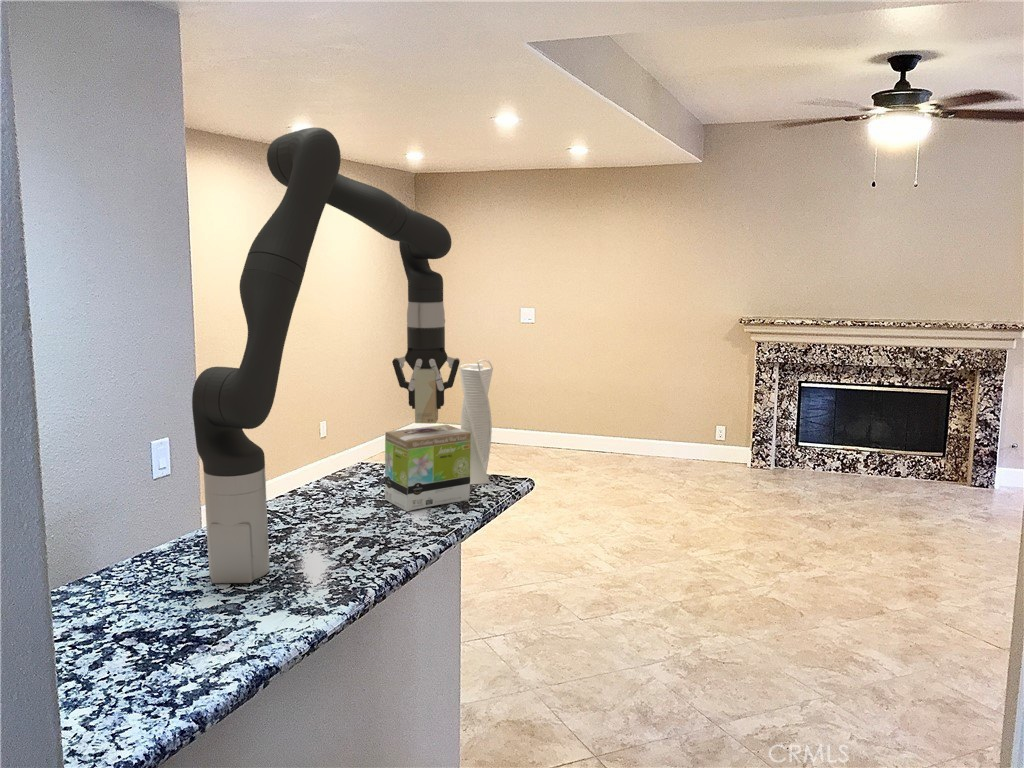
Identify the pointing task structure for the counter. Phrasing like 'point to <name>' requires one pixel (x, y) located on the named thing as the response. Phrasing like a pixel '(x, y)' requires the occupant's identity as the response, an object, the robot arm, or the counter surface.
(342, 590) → the counter surface
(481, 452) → the skyscraper
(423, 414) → the box
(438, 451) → the tea box
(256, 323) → the robot arm
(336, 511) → the counter surface
